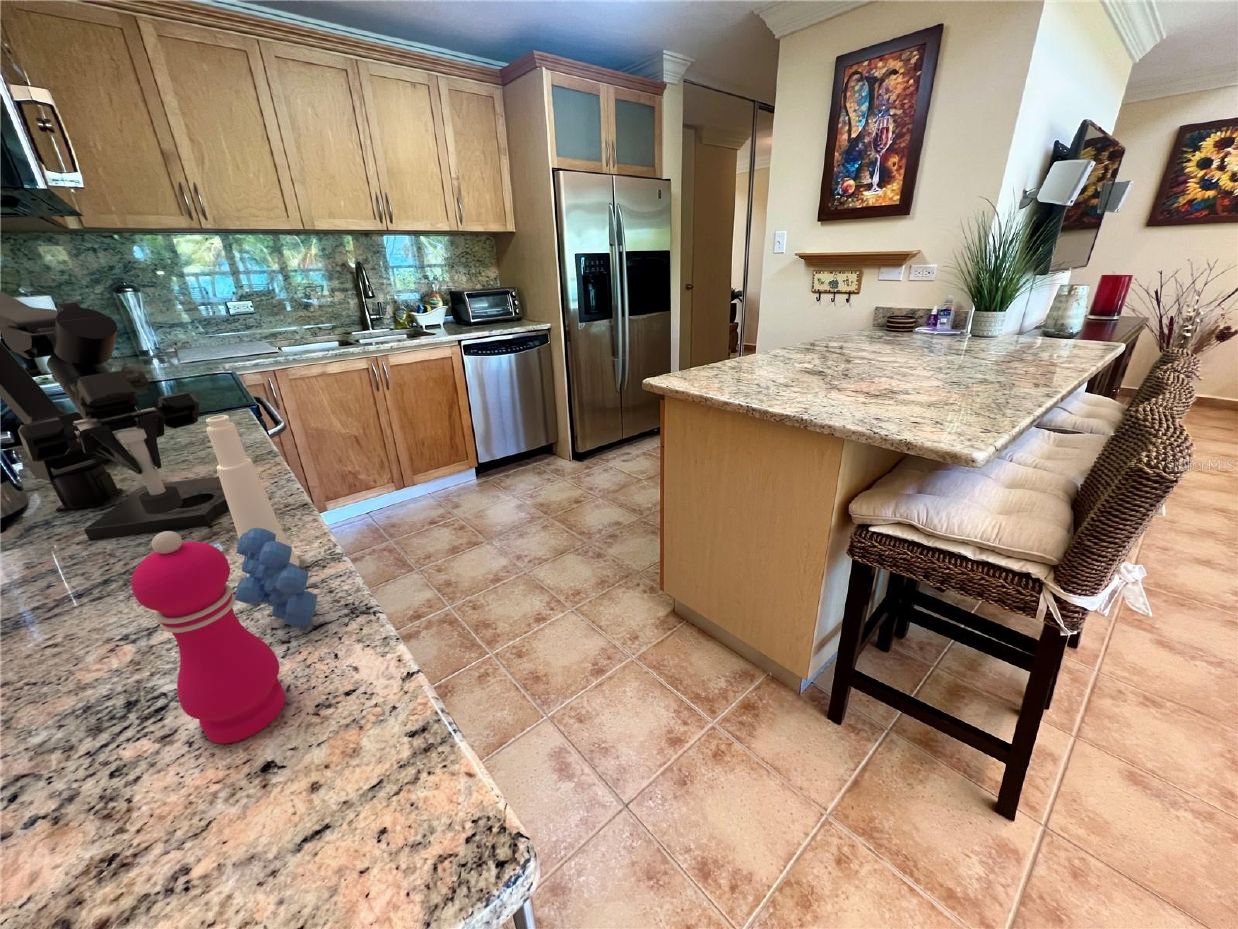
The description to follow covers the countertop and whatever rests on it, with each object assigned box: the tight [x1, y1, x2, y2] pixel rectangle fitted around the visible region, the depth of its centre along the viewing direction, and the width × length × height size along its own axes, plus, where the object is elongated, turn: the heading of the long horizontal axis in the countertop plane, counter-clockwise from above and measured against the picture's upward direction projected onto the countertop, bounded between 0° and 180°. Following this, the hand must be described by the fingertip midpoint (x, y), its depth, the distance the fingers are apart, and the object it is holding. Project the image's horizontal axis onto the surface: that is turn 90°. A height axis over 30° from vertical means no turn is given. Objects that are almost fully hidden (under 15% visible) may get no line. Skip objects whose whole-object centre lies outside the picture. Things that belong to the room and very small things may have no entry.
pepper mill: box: [130, 530, 286, 744], centre depth 42 cm, size 7×7×20 cm
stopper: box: [116, 428, 183, 514], centre depth 72 cm, size 4×4×12 cm
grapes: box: [234, 528, 318, 629], centre depth 55 cm, size 12×7×12 cm, turn 58°
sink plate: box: [83, 476, 230, 541], centre depth 84 cm, size 17×16×2 cm
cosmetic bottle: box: [205, 414, 300, 577], centre depth 63 cm, size 6×6×22 cm
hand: (150, 469), depth 71 cm, fingers closed on stopper, 2 cm apart
